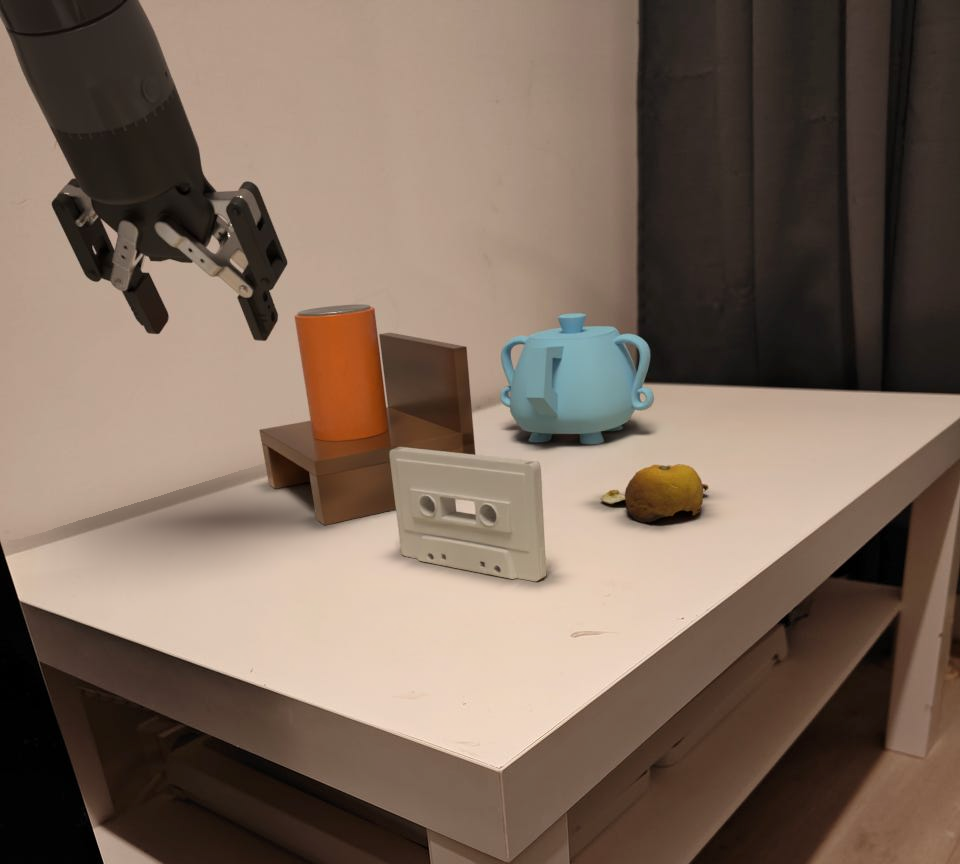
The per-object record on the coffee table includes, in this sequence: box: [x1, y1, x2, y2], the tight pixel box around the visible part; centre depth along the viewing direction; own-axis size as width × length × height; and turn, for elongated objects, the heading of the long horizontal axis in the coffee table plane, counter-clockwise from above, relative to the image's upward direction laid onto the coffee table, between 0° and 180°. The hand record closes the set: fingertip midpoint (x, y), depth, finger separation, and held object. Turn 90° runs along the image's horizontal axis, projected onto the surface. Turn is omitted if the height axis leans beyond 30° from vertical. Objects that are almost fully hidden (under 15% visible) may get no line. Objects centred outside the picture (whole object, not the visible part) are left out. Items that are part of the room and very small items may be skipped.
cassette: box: [389, 447, 547, 582], centre depth 62 cm, size 12×2×8 cm, turn 53°
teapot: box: [499, 312, 655, 445], centre depth 95 cm, size 20×17×12 cm
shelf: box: [259, 332, 476, 526], centre depth 81 cm, size 14×16×12 cm
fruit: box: [600, 463, 709, 523], centre depth 71 cm, size 8×8×4 cm
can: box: [294, 303, 389, 441], centre depth 79 cm, size 7×7×10 cm
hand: (211, 330), depth 66 cm, fingers open, 8 cm apart
